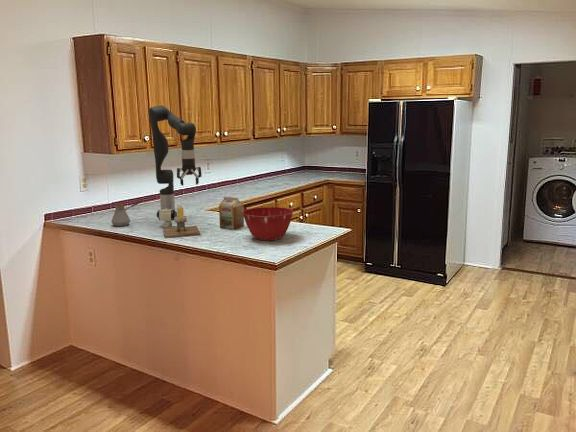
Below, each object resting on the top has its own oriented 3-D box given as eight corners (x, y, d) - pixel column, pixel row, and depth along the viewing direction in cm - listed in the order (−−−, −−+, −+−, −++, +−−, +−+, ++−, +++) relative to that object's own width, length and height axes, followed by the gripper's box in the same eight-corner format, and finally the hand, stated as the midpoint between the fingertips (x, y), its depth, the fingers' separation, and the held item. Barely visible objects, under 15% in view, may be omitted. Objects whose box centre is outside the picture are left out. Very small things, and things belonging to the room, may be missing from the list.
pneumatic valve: (160, 225, 319) (159, 207, 316) (178, 226, 316) (176, 207, 314) (156, 227, 313) (155, 208, 311) (174, 228, 311) (173, 209, 309)
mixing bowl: (243, 232, 298) (242, 206, 295) (291, 231, 300) (291, 205, 297) (242, 245, 271) (241, 216, 267) (295, 243, 272) (295, 215, 269)
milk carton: (244, 226, 313) (243, 196, 309) (233, 230, 304) (232, 199, 300) (230, 225, 318) (229, 195, 314) (219, 228, 309) (218, 197, 306)
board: (163, 230, 306) (162, 220, 304) (196, 228, 311) (196, 217, 310) (165, 238, 287) (164, 227, 286) (200, 235, 292) (199, 224, 291)
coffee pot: (113, 228, 314) (111, 204, 311) (110, 224, 323) (108, 201, 320) (148, 224, 324) (146, 201, 321) (143, 220, 334) (142, 198, 331)
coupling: (175, 224, 291) (174, 208, 290) (174, 220, 302) (173, 205, 300) (187, 223, 293) (186, 208, 291) (186, 219, 304) (185, 204, 302)
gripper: (177, 158, 290) (179, 186, 294) (201, 157, 296) (203, 184, 299) (174, 157, 297) (176, 184, 300) (198, 156, 302) (200, 183, 306)
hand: (189, 184), depth 300 cm, fingers open, 8 cm apart
